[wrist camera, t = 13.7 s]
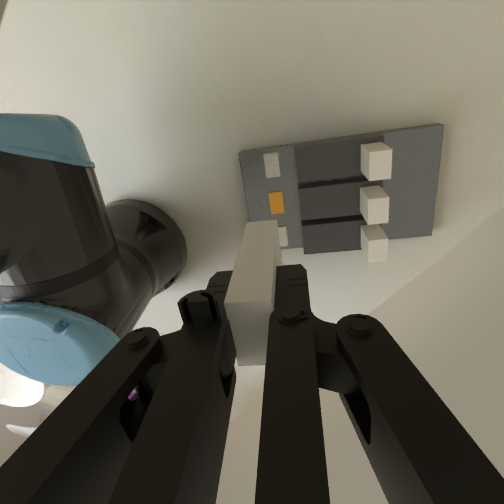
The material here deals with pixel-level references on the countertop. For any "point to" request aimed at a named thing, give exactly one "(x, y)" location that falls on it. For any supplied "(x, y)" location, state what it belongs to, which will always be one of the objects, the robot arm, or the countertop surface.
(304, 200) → the breaker housings
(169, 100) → the countertop surface
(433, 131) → the panel
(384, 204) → the handle
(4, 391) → the bowl
